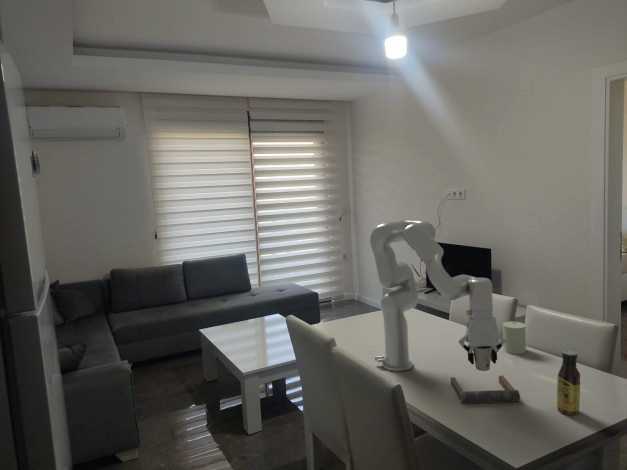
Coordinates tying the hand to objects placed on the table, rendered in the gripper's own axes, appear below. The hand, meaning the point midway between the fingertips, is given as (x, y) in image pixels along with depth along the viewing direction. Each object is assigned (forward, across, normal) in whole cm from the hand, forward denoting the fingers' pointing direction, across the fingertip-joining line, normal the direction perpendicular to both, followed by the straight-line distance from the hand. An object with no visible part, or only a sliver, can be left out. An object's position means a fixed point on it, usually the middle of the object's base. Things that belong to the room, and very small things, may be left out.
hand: (482, 362), depth 155 cm
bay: (+11, 0, -1) cm, 11 cm away
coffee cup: (+2, 0, 0) cm, 2 cm away
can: (+11, +25, +37) cm, 46 cm away
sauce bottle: (+11, +22, -15) cm, 29 cm away
